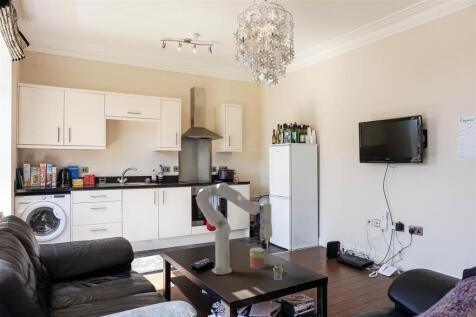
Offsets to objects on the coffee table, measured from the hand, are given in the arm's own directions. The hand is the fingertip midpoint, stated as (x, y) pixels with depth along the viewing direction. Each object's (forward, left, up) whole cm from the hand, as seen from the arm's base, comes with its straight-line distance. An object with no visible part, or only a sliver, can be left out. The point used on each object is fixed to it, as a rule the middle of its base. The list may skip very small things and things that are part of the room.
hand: (265, 248), depth 218 cm
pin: (0, 0, -2) cm, 2 cm away
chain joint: (+4, -7, -17) cm, 19 cm away
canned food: (+10, +12, -17) cm, 23 cm away
